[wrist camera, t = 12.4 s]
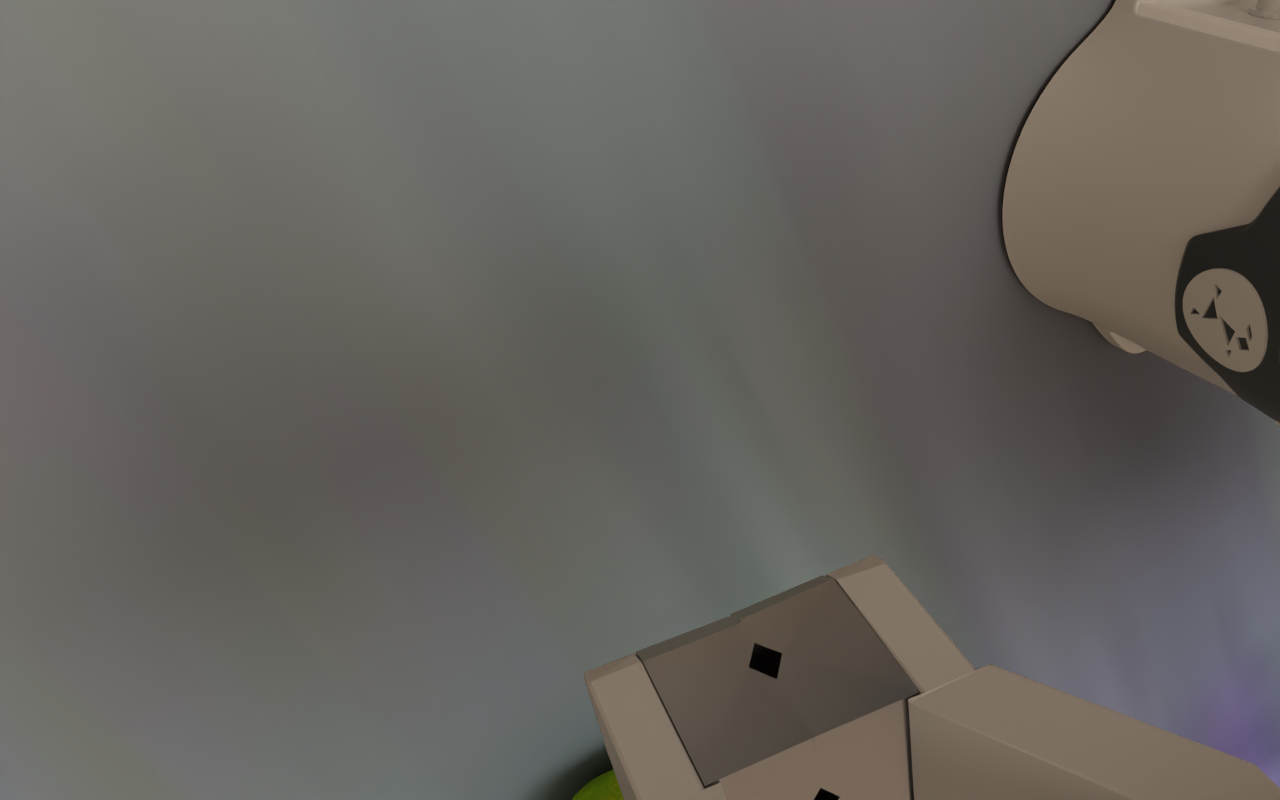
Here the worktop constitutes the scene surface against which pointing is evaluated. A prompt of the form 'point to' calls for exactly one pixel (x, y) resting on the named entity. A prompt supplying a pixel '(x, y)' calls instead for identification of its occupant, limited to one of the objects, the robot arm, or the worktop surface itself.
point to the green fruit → (601, 788)
